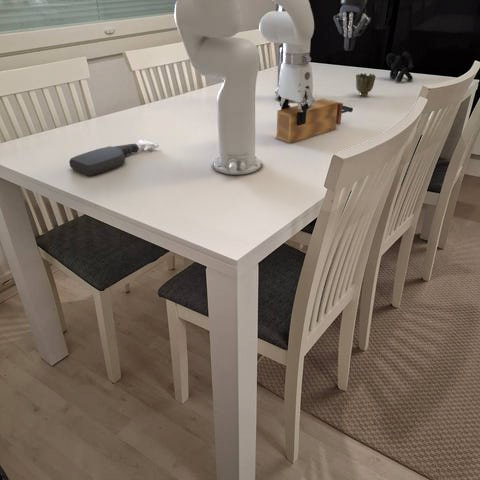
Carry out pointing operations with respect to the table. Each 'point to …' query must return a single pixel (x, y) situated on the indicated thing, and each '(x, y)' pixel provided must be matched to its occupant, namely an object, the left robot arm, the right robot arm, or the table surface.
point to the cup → (364, 83)
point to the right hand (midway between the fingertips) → (348, 50)
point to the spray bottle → (106, 157)
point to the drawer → (339, 111)
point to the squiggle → (399, 66)
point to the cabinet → (317, 121)
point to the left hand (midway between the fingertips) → (293, 121)
